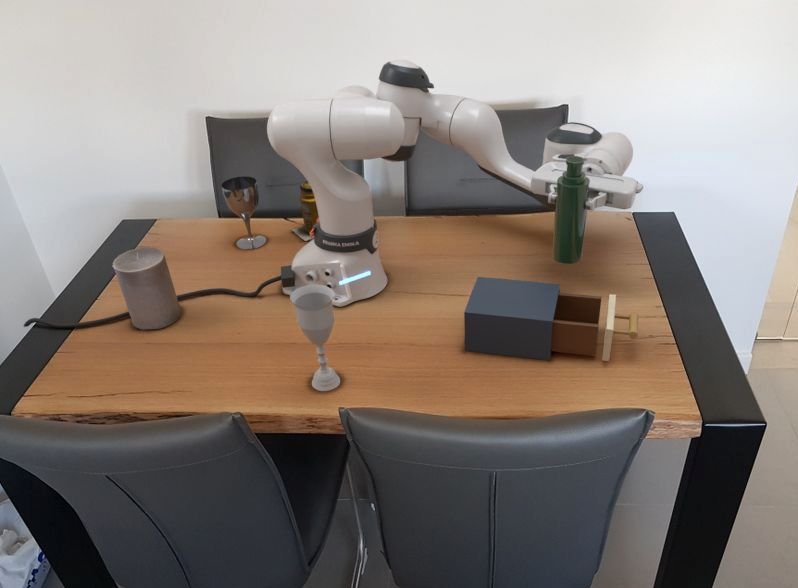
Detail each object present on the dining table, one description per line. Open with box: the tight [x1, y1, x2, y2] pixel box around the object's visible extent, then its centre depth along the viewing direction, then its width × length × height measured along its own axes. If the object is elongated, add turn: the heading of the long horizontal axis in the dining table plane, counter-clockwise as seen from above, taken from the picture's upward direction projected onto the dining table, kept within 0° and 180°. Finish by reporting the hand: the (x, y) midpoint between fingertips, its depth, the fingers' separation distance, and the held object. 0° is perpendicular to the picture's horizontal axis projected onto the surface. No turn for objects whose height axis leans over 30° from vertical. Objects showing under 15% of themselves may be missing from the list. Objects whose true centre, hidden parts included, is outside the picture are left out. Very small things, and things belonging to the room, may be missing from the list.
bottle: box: [551, 156, 590, 265], centre depth 135 cm, size 6×6×20 cm
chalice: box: [289, 285, 341, 392], centre depth 121 cm, size 7×7×18 cm
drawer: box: [551, 292, 639, 362], centre depth 129 cm, size 19×11×7 cm, turn 75°
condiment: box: [291, 180, 319, 242], centre depth 171 cm, size 7×8×12 cm
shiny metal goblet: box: [221, 175, 267, 250], centre depth 167 cm, size 8×8×15 cm
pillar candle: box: [112, 246, 182, 331], centre depth 141 cm, size 10×10×15 cm
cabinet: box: [463, 276, 561, 361], centre depth 132 cm, size 16×13×9 cm
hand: (569, 203), depth 133 cm, fingers closed on bottle, 6 cm apart
